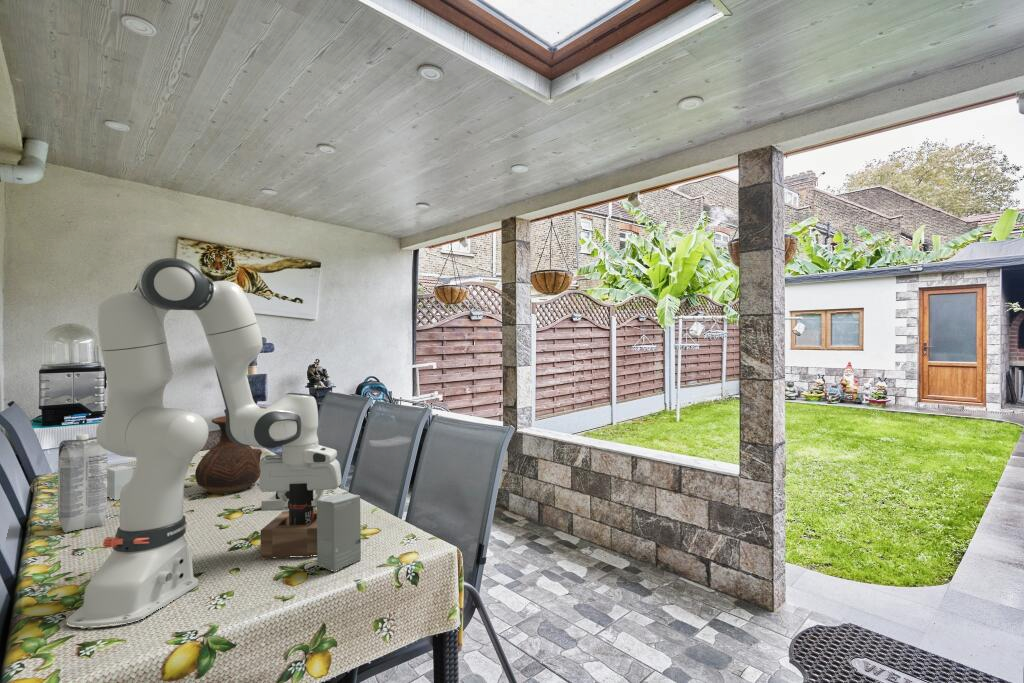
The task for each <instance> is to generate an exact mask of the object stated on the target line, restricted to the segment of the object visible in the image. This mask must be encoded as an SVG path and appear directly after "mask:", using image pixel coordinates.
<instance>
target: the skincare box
mask: <svg viewBox="0 0 1024 683" xmlns="http://www.w3.org/2000/svg"><path fill="white" fill-rule="evenodd" d="M316 510H317V557H316V566H317V567H318V566H319V567H318V568H321V567H323V568H322V569H324V568H326V569H325V570H327V569H329V570H328V571H330V570H333V571H336V570H338V569H340V570H342V569H344V568H343V567H345V566H347V567H348V565H349V566H350V564H351V565H353V564H354V563H357V562H359V561H361V560H362V555H361V554H362V546H361V544H362V543H361V542H362V539H361V537H362V535H361V532H362V531H361V527H362V526H361V495H359V494H353V493H347V492H343V493H339V494H334V495H329V496H327V497H324V498H320V499H319V500H317V507H316ZM352 563H353V564H352ZM341 568H342V569H341ZM345 568H346V567H345ZM338 571H339V570H338ZM336 572H337V571H336Z"/></svg>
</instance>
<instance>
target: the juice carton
mask: <svg viewBox="0 0 1024 683" xmlns="http://www.w3.org/2000/svg"><path fill="white" fill-rule="evenodd" d="M57 459H58V463H57V465H58V466H57V467H58V468H57V470H58V471H57V472H58V473H57V475H58V477H57V480H58V481H57V505H58V506H57V516H58V520H59V523H60V526H61V528H62V531H63V533H64V532H67V531H72V530H79V529H84V530H86V529H85V528H88V529H91V528H90V527H93V528H96V527H95V526H98V527H101V526H100V525H102V526H103V525H104V523H105V520H106V517H107V513H108V498H107V468H108V450H106V449H104V448H103V447H102V446H101V445H100V444H99V443H98V441H97V438H96V437H90V435H89V434H78V435H75V439H65V440H62V441H61V442H59V446H58V458H57ZM79 531H80V530H79Z"/></svg>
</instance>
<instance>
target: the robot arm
mask: <svg viewBox="0 0 1024 683" xmlns="http://www.w3.org/2000/svg"><path fill="white" fill-rule="evenodd" d="M171 310H172V311H191V312H193V313H194V314H195V315H196V316H197V318H198V320H199V321H200V323H201V326H202V329H203V332H204V335H205V337H206V341H207V343H208V346H209V349H210V351H211V352H210V353H211V355H212V358H213V364H214V367H215V374H216V378H217V380H218V384H219V389H220V392H221V396H222V398H223V402H224V406H225V407H224V408H225V413H226V414H225V416H226V424H225V429H226V434H227V436H228V438H229V439H230V440H231V441H232V442H233V443H235V444H237V445H240V446H250V447H254V448H255V447H256V448H258V449H260V448H261V449H266V450H267V449H275V448H279V447H281V454H273V455H271V454H267V455H265V456H264V457H262V458H260V470H261V472H260V477H259V479H258V489H259V490H260V491H261V492H262V493H270V492H271V493H274V492H277V491H278V497H279V498H280V500H281V501H282V508H289V500H287V497H286V496H285V493H286V491H289V484H303V483H307V490H316V494H318V495H317V497H316V499H313V500H312V501H311V504H312V505H311V507H313V508H317V500H319V499H321V497H322V496H323V494H324V491H325V490H327V491H328V490H329V491H333V490H336V489H338V488H339V487H340V486H341V485H342V471H341V464H340V462H339V461H338V459H336V458H337V456H338V451H337V450H336V449H334V448H331V447H328V446H324V445H320V444H319V438H318V428H319V410H318V404H317V400H316V398H315V397H314V396H313V395H311V394H308V393H300V392H299V393H298V392H288V393H285V394H284V395H283V396H282V397H281V399H279V400H277V401H276V402H275V403H272V404H271V405H269V406H266V408H267V409H264V408H260V407H259V405H257V403H255V400H254V398H253V394H252V391H251V386H250V383H249V382H250V381H249V378H248V368H249V367H250V364H251V363H252V362H254V361H255V360H256V358H258V356H259V355H260V353H261V351H262V349H263V347H264V344H263V337H262V331H261V329H260V328H261V327H260V326H259V323H258V320H257V317H256V314H255V311H254V310H253V307H252V306H251V302H250V301H249V299H248V297H247V295H246V293H245V292H244V290H243V288H241V286H240V285H239V284H237V283H236V282H233V281H229V280H215V281H212V280H211V279H209V278H208V277H207V276H206V275H205V274H203V272H202V271H200V270H199V269H198V268H197V267H196V266H194V265H193V264H191V263H190V262H188V261H185V260H184V259H179V258H176V257H174V258H173V257H162V258H159V259H155V260H153V261H151V262H149V263H148V264H147V265H145V266H144V267H143V269H142V271H141V272H140V274H139V278H138V280H137V282H136V285H135V287H134V288H133V290H132V291H129V292H122V293H116V294H114V295H110V296H108V297H106V298H104V299H103V300H102V301H101V302H100V304H99V306H98V311H97V312H98V313H97V328H98V331H97V332H98V340H99V346H100V351H101V355H102V361H103V366H104V369H105V376H106V380H107V402H106V407H105V408H106V410H105V413H104V416H103V418H101V420H100V421H99V422H98V425H97V427H96V431H95V436H96V438H97V441H98V443H99V444H100V445H101V446H102V447H103V448H104V449H106V450H107V452H110V453H113V454H115V455H116V456H120V457H127V458H136V461H135V462H136V463H135V467H134V469H133V476H132V478H131V480H130V482H128V483H127V484H126V485H125V486H124V487H123V488H122V490H121V492H120V500H119V526H118V527H117V530H116V533H115V535H114V536H113V537H111V536H107V537H105V538H104V541H102V547H103V548H104V549H106V548H107V549H108V548H112V551H111V553H110V554H109V556H108V557H107V558H106V560H105V561H104V562H103V564H102V565H101V566H100V567H99V569H98V570H97V572H96V573H95V575H94V576H93V577H92V578H91V579H90V581H89V582H88V583H87V585H86V587H85V590H84V597H83V603H82V605H81V606H80V607H79V608H78V609H77V610H75V611H74V612H73V613H72V614H71V615H69V617H68V618H66V622H65V624H66V623H68V624H70V625H74V626H83V627H91V626H101V625H108V624H114V623H115V624H116V623H117V624H118V623H119V624H120V623H128V622H132V621H136V620H140V619H143V618H145V617H146V616H148V615H150V614H151V613H153V612H154V611H156V610H158V609H159V610H161V609H163V608H164V607H165V606H167V605H169V604H170V602H171V603H172V602H173V600H174V601H175V600H177V599H178V598H180V597H181V596H183V595H185V594H186V593H188V592H189V591H191V590H192V589H194V588H196V587H198V585H199V584H200V582H199V578H197V577H195V576H194V567H193V558H192V550H191V546H190V545H189V543H188V541H187V540H186V537H185V534H186V531H187V521H186V516H185V515H184V496H185V495H184V494H185V492H184V488H185V481H186V477H187V474H188V470H189V467H190V466H191V462H192V461H193V459H194V458H195V456H196V455H197V454H198V453H200V452H201V451H202V450H203V448H204V447H205V445H206V443H207V441H208V438H209V432H210V431H209V425H208V423H207V421H206V419H205V418H204V417H202V415H199V414H198V413H195V412H192V411H190V410H186V409H183V408H178V407H177V408H175V407H164V401H163V399H164V393H165V389H166V386H167V385H168V384H169V383H170V382H171V380H172V379H173V375H174V374H173V367H172V362H171V357H170V353H169V351H170V350H169V348H168V342H167V337H166V332H165V326H164V325H165V317H166V315H167V314H168V312H170V311H171ZM321 495H322V496H321ZM162 607H163V608H162ZM160 608H161V609H160ZM159 610H158V611H159ZM156 612H157V611H156ZM153 614H154V613H153ZM151 615H152V614H151ZM151 615H150V616H151ZM148 617H149V616H148ZM145 619H146V618H145ZM143 620H144V619H143Z"/></svg>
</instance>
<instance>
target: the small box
mask: <svg viewBox="0 0 1024 683" xmlns="http://www.w3.org/2000/svg"><path fill="white" fill-rule="evenodd" d="M133 473H134V467H133V466H128V465H124V464H123V465H118V466H112V467H107V497H109V498H112V499H114V500H116V499H120V492H121V490H122V488H123V487H124V486H125V485H126V484H127V483H128V482H130V480H131V478H132V476H133ZM109 498H108V499H109ZM114 500H113V501H114ZM116 501H117V500H116Z"/></svg>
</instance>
